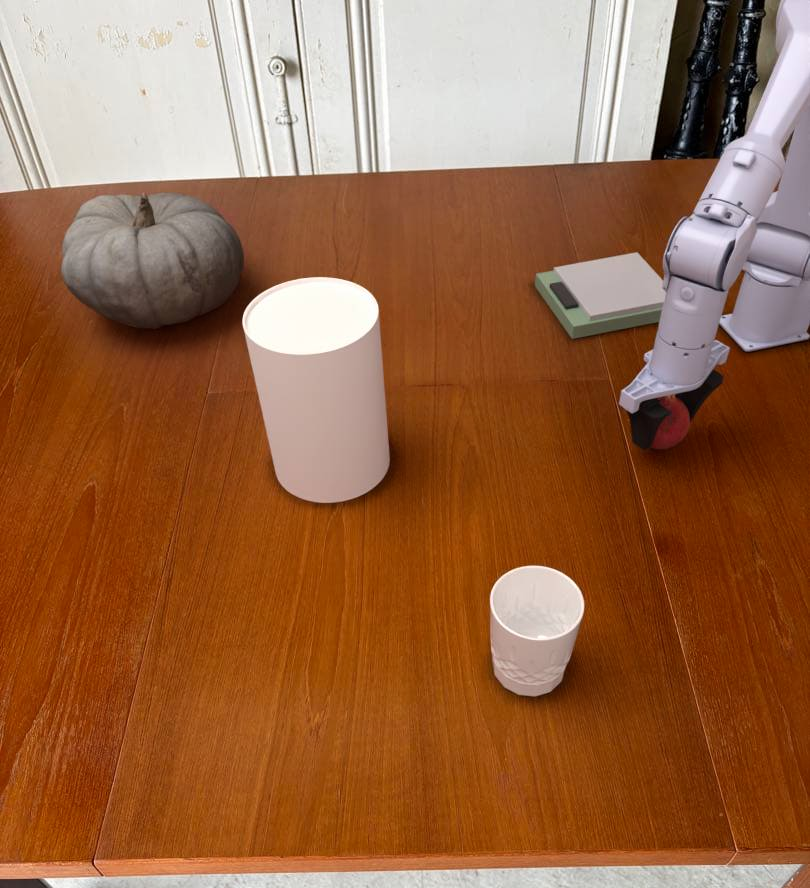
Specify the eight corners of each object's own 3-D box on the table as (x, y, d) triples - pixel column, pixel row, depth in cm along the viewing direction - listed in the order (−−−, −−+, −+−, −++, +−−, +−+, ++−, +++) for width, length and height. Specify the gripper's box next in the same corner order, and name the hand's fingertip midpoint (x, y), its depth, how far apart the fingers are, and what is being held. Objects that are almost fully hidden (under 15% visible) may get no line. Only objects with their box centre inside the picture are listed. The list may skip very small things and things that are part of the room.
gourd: (121, 366, 105) (79, 229, 95) (51, 317, 121) (8, 195, 111) (282, 309, 117) (261, 182, 107) (199, 271, 133) (173, 157, 123)
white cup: (480, 635, 79) (483, 569, 71) (561, 627, 79) (572, 561, 71) (493, 706, 73) (498, 644, 66) (579, 698, 74) (594, 635, 66)
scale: (635, 267, 121) (638, 249, 119) (680, 317, 112) (684, 300, 110) (534, 286, 119) (536, 268, 117) (572, 339, 110) (574, 321, 108)
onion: (682, 466, 93) (698, 411, 87) (630, 461, 94) (643, 406, 88) (681, 433, 97) (697, 378, 91) (632, 428, 97) (643, 374, 91)
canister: (301, 518, 90) (271, 370, 75) (258, 447, 98) (223, 301, 83) (409, 476, 94) (402, 327, 79) (359, 410, 102) (344, 264, 87)
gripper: (704, 292, 88) (678, 392, 98) (606, 341, 83) (589, 441, 93) (757, 321, 84) (724, 422, 94) (658, 374, 79) (634, 475, 89)
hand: (660, 433), depth 94 cm, fingers closed on onion, 6 cm apart
